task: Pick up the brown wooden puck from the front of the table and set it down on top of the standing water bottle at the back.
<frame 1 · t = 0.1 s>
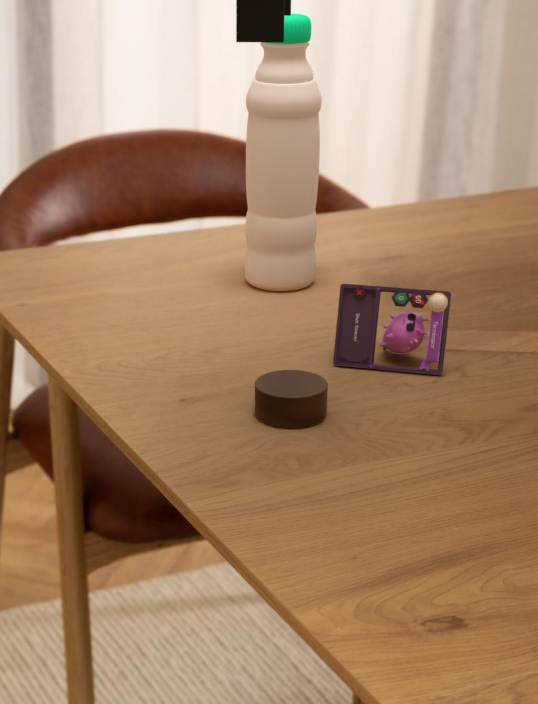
hand: (265, 27, 74), 28 cm above the table, tool pointing down, fingers open, 13 cm apart
game card: (390, 363, 100), on the table
brown wooden puck: (290, 413, 90), on the table
water bottle: (279, 283, 119), on the table
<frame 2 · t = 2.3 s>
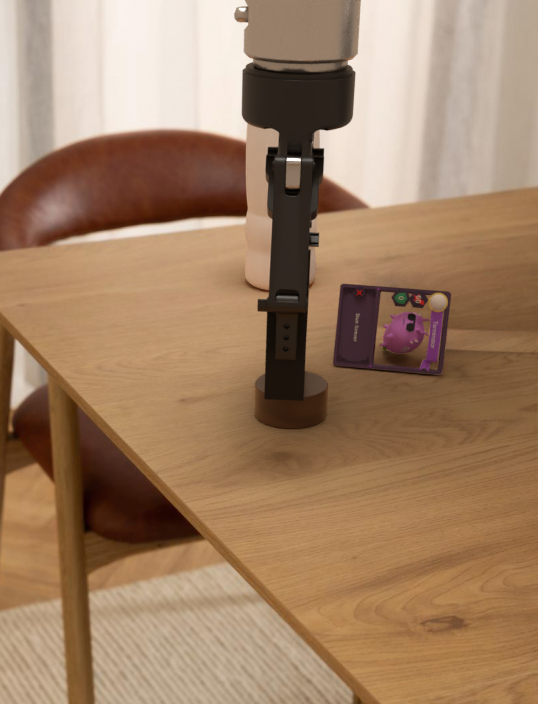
hand: (287, 362, 88), 4 cm above the table, tool pointing down, fingers open, 13 cm apart
nothing on the table moved.
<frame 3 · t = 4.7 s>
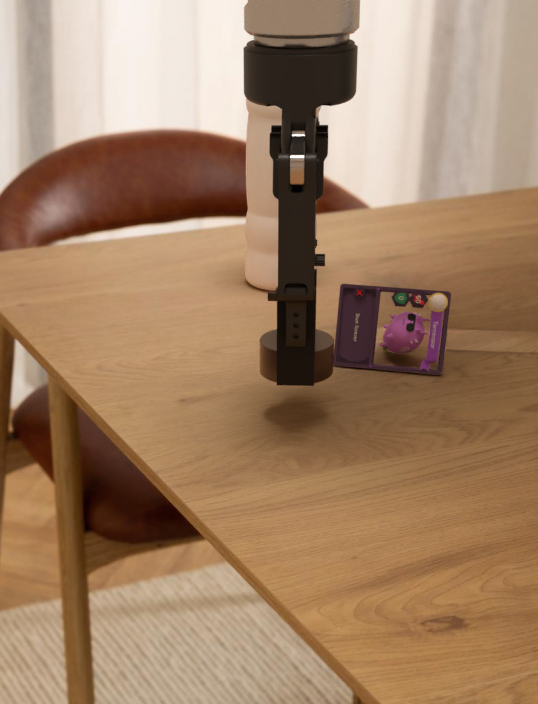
hand: (296, 367, 88), 4 cm above the table, tool pointing down, fingers closed on brown wooden puck, 5 cm apart
brown wooden puck: (296, 371, 88), point 3 cm above the table, touching gripper
everything else where it was.
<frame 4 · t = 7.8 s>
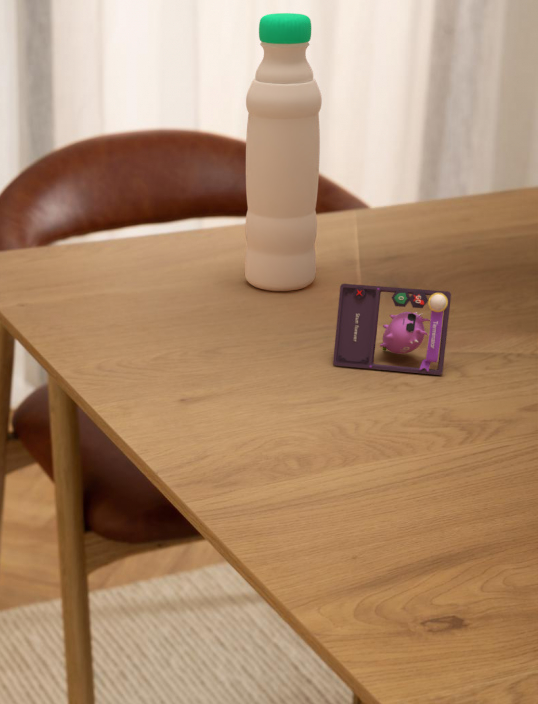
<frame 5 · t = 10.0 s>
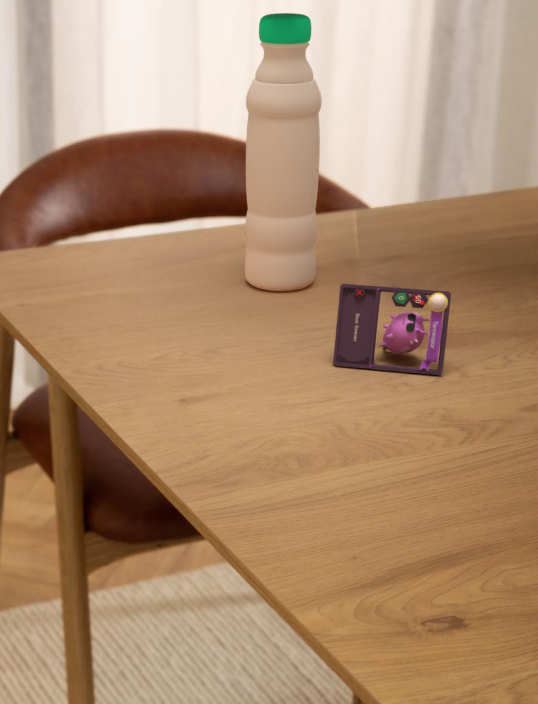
when the fingers open (25 cm above the table, at t = 11.3 s): brown wooden puck stays where it is, resting on water bottle.
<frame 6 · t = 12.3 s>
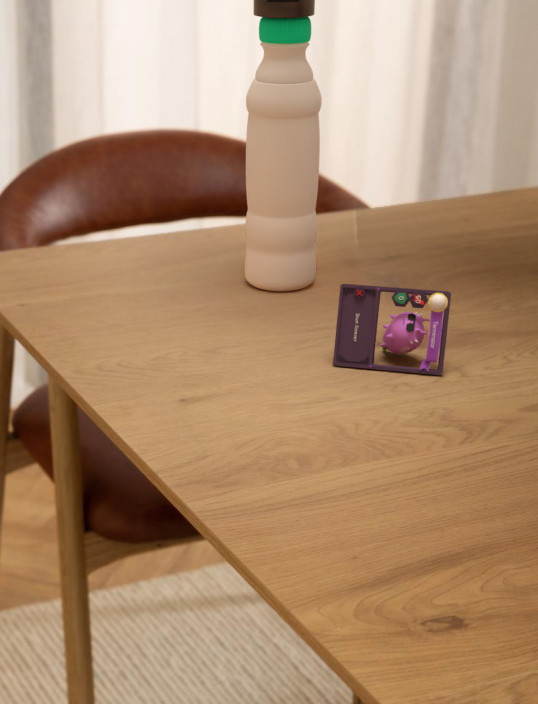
brown wooden puck: (283, 14, 107), point 25 cm above the table, touching water bottle
water bottle: (279, 283, 119), on the table, touching brown wooden puck
everything else where it was.
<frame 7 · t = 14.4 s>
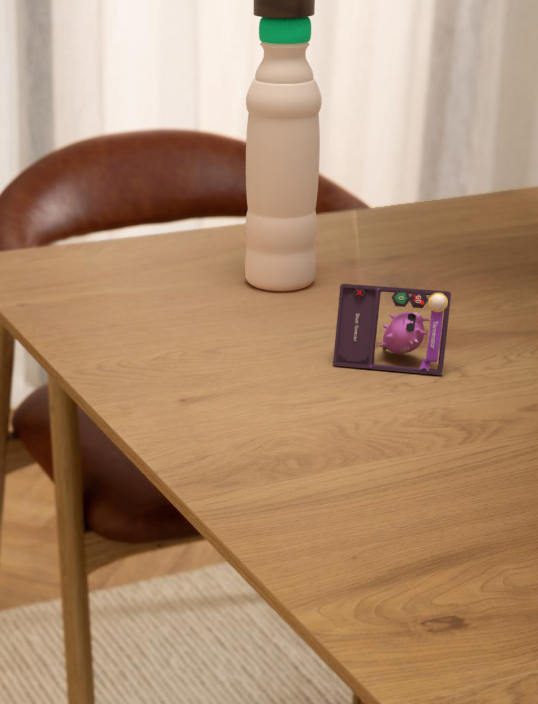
nothing on the table moved.
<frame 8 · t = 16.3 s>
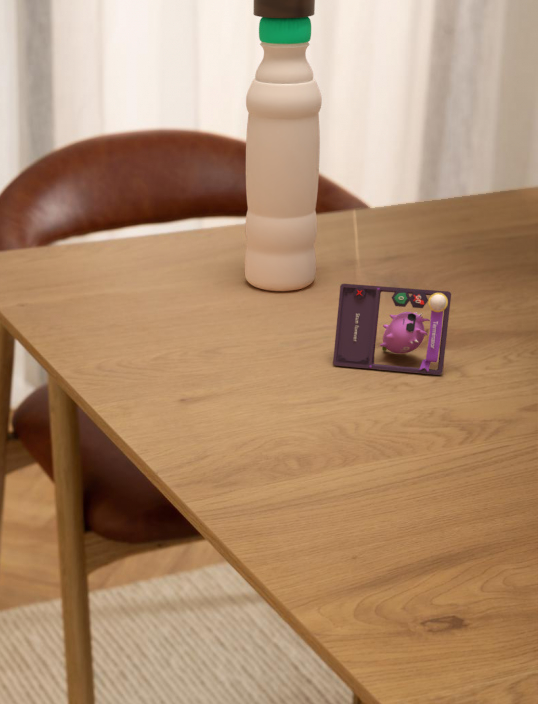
nothing on the table moved.
at the end: brown wooden puck 0.1 cm off-centre on the water bottle, point 25.2 cm above the water bottle's base; water bottle tilted 0°; the gripper is holding nothing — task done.
